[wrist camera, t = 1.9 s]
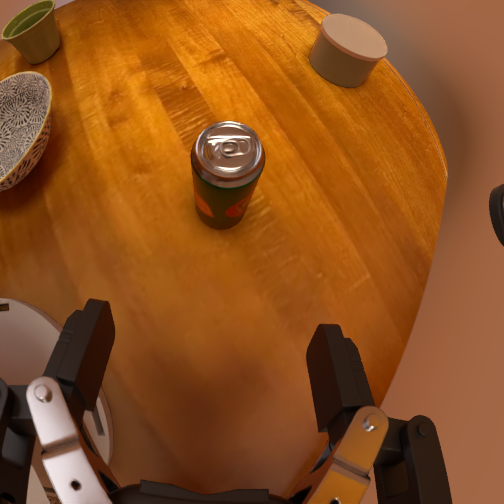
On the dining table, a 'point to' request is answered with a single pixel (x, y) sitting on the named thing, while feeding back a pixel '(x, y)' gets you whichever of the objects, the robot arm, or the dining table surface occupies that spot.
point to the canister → (346, 50)
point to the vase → (33, 366)
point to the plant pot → (34, 32)
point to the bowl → (23, 124)
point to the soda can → (225, 172)
